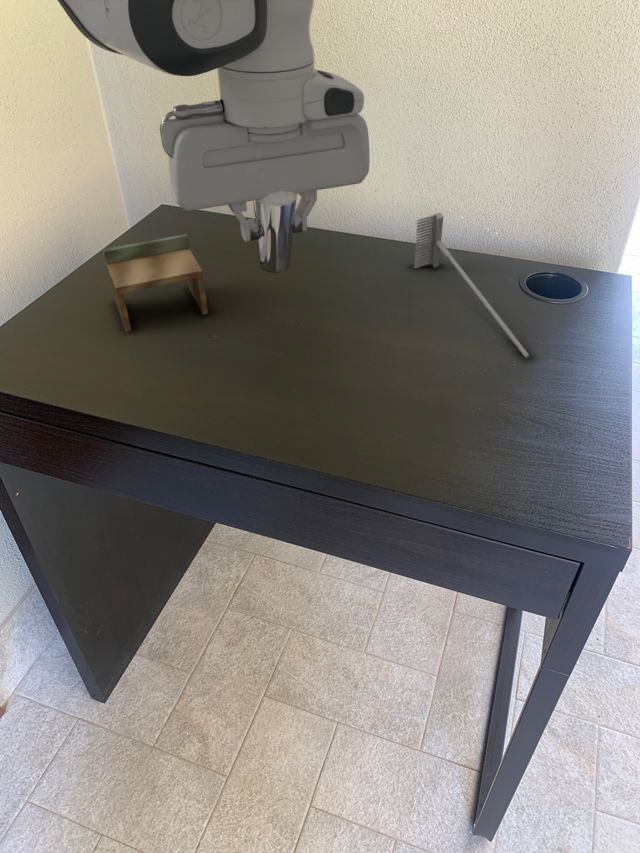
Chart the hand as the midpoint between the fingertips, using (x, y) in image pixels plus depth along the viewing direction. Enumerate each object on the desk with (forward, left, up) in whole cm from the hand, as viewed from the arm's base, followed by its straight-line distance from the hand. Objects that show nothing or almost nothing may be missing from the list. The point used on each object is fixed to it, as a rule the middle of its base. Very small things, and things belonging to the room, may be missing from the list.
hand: (274, 234), depth 73 cm
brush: (+32, +8, -21) cm, 39 cm away
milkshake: (0, 0, -4) cm, 4 cm away
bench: (-10, +25, -21) cm, 34 cm away
